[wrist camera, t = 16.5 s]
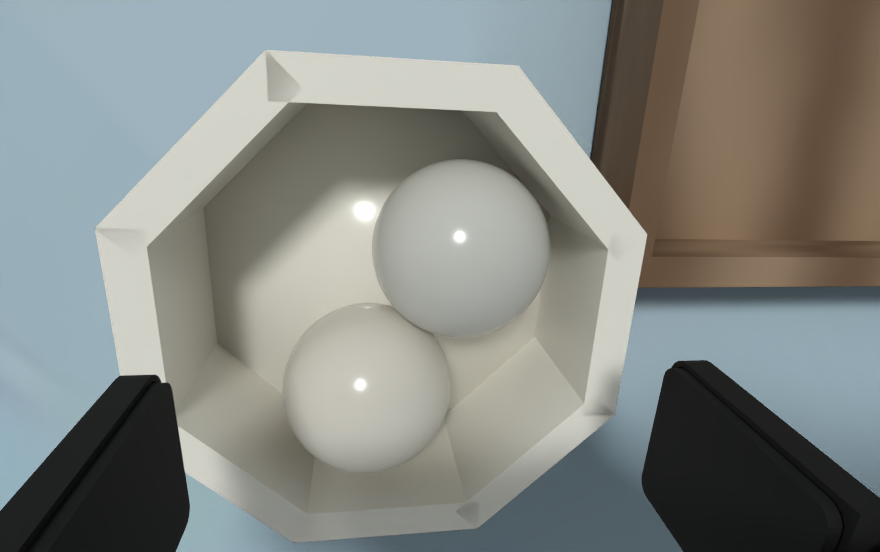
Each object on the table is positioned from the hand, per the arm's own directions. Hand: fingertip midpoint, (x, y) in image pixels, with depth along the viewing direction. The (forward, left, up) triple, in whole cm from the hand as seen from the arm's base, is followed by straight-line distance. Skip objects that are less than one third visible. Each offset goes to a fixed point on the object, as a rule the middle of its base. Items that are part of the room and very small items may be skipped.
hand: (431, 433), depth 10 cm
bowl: (+1, 0, -9) cm, 9 cm away
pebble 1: (0, 0, -7) cm, 7 cm away
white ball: (0, -2, -7) cm, 8 cm away
